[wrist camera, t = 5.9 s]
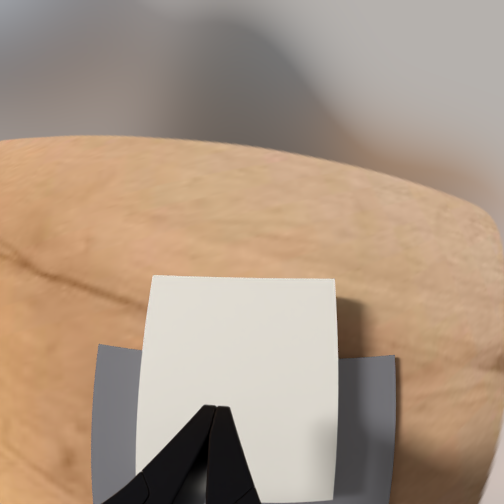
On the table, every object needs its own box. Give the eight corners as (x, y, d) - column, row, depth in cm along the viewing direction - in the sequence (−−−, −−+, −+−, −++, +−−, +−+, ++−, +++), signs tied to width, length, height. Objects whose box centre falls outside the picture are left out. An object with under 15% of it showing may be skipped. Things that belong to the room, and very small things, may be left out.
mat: (371, 569, 9) (374, 573, 8) (103, 549, 10) (99, 552, 9) (390, 356, 16) (394, 355, 15) (103, 345, 17) (98, 344, 17)
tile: (332, 499, 10) (334, 278, 16) (135, 484, 11) (153, 275, 16) (325, 489, 12) (327, 290, 18) (148, 476, 13) (163, 287, 18)
